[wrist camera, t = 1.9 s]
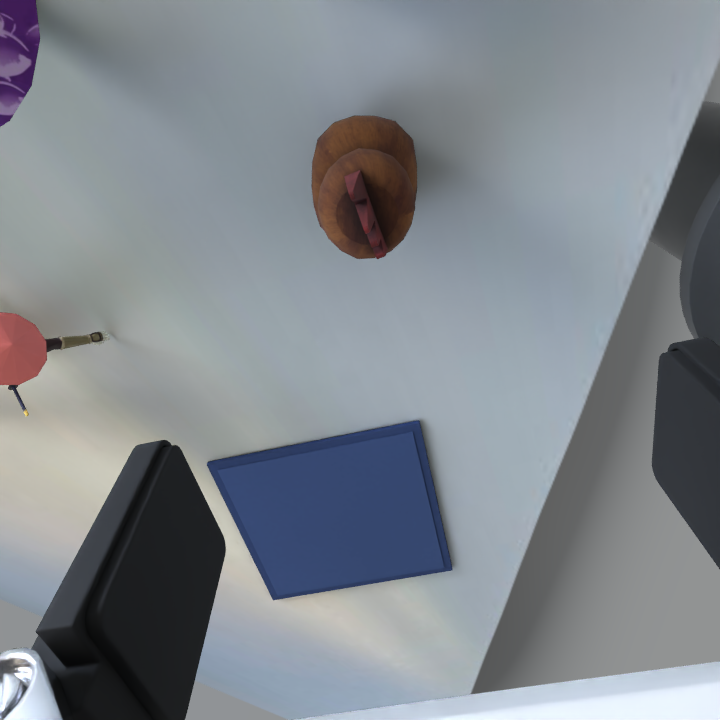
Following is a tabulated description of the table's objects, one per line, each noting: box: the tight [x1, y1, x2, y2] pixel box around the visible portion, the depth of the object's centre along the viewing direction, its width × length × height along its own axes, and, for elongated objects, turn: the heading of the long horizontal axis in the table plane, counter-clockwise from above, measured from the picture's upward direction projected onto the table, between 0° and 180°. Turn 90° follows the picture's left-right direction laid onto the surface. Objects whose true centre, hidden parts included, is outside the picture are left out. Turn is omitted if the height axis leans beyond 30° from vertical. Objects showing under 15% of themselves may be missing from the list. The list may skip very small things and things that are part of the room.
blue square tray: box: [207, 420, 452, 600], centre depth 49 cm, size 18×18×1 cm
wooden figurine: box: [312, 116, 417, 259], centre depth 27 cm, size 7×6×15 cm
